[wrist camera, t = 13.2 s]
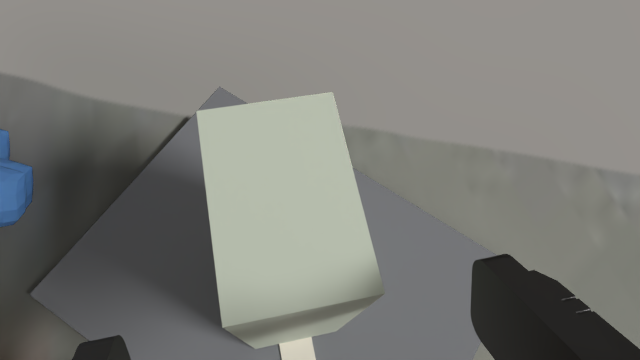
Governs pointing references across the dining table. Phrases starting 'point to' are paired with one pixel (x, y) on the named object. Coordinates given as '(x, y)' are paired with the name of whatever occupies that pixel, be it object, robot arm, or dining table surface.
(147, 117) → the dining table surface
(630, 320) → the dining table surface
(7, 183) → the grapes
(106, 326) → the mat
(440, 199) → the dining table surface
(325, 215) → the sage block
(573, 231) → the dining table surface
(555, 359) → the robot arm
